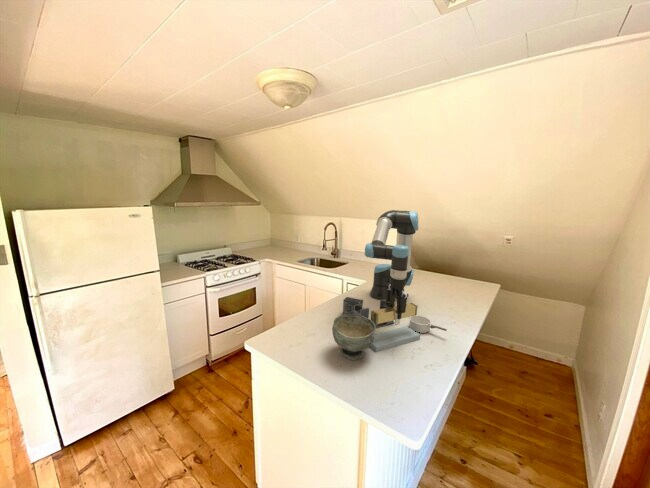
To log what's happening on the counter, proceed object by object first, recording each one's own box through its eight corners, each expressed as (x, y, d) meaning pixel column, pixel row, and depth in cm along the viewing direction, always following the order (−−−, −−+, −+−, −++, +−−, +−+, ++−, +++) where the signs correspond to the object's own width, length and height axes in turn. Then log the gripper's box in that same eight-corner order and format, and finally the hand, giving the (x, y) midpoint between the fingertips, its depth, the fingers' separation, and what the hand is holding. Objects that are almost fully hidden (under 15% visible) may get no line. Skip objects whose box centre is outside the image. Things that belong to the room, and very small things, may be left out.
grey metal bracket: (351, 326, 149) (353, 305, 147) (386, 318, 160) (387, 298, 158) (359, 332, 143) (360, 310, 141) (394, 323, 154) (396, 303, 152)
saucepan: (440, 343, 135) (441, 333, 134) (404, 328, 149) (405, 319, 148) (449, 335, 143) (450, 326, 142) (414, 322, 157) (415, 313, 156)
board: (363, 341, 135) (363, 336, 134) (406, 330, 147) (406, 326, 147) (376, 352, 126) (376, 347, 125) (420, 339, 138) (420, 334, 138)
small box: (362, 316, 163) (363, 299, 161) (359, 320, 157) (360, 303, 155) (346, 312, 167) (346, 296, 165) (342, 316, 161) (343, 299, 159)
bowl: (343, 372, 111) (345, 338, 108) (324, 347, 128) (325, 317, 125) (383, 361, 119) (385, 330, 116) (360, 339, 136) (362, 311, 133)
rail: (370, 320, 130) (371, 310, 129) (410, 311, 142) (411, 302, 141) (375, 324, 126) (376, 314, 125) (416, 315, 138) (417, 305, 137)
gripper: (380, 273, 136) (377, 316, 140) (404, 283, 121) (400, 331, 125) (392, 271, 139) (388, 314, 144) (417, 281, 125) (412, 328, 129)
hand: (393, 322), depth 135 cm, fingers closed on rail, 4 cm apart
